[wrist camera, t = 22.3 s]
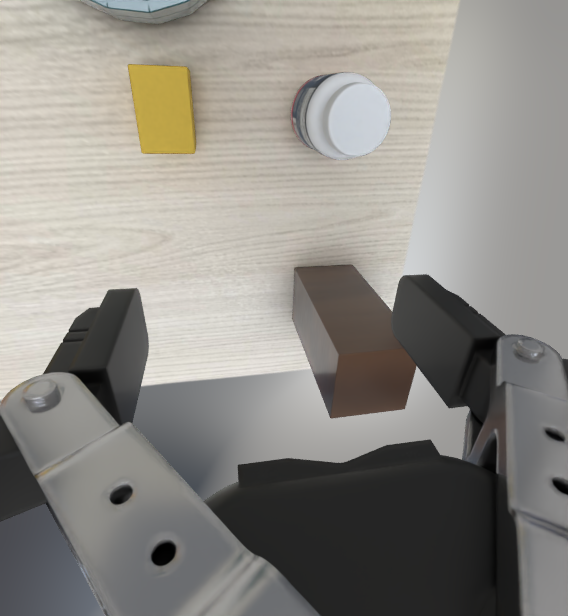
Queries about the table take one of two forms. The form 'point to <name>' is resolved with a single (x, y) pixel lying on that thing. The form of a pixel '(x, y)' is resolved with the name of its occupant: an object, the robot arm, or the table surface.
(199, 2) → the bowl
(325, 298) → the stand
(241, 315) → the table surface
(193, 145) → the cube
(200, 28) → the table surface
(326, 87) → the pill bottle
